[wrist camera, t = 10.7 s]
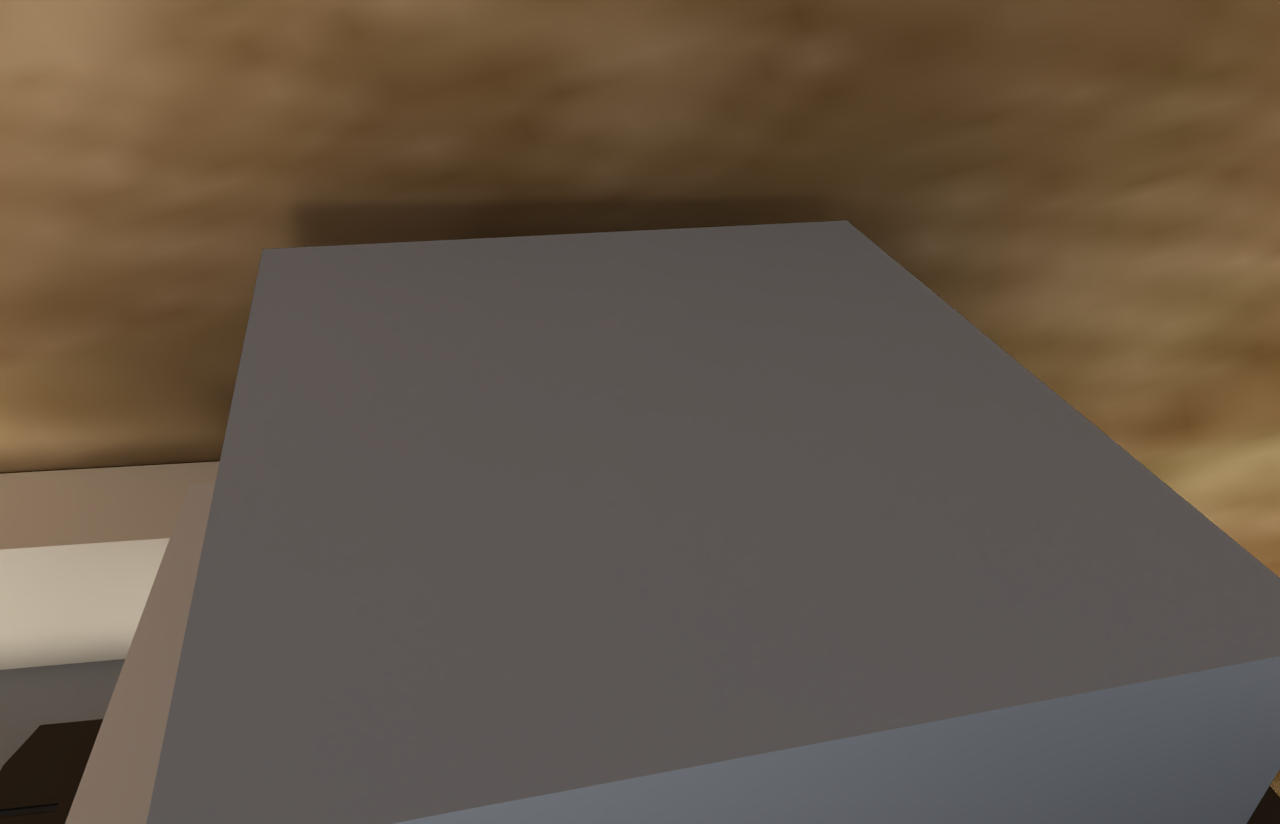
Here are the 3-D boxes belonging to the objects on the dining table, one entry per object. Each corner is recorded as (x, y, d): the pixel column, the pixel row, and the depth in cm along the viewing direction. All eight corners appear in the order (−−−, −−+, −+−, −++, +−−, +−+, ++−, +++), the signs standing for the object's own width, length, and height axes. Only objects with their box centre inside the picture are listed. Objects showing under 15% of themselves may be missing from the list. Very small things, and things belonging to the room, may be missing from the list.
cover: (262, 248, 13) (137, 870, 5) (846, 220, 15) (1357, 642, 7) (338, 692, 17) (329, 1371, 10) (779, 624, 19) (1052, 1144, 12)
